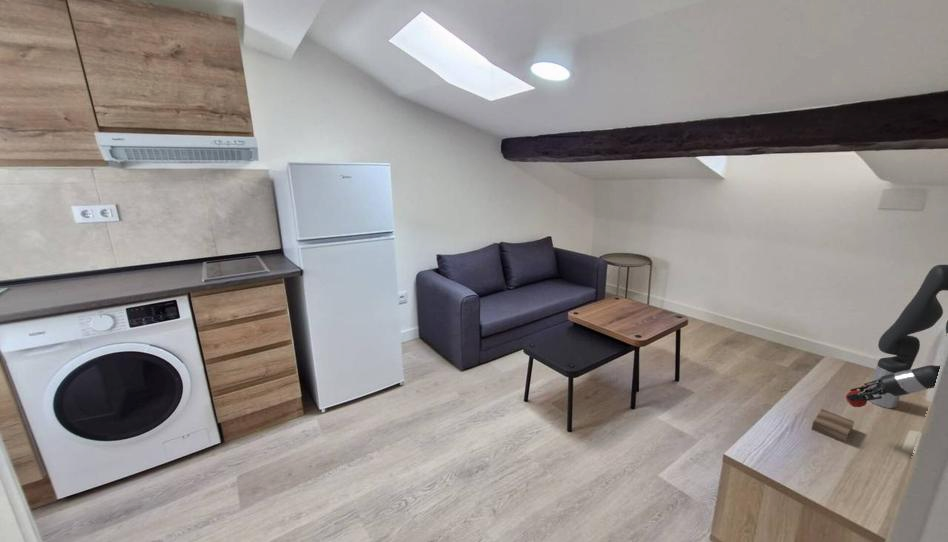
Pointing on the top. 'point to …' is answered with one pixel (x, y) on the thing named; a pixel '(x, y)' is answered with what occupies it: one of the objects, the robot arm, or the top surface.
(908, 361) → the robot arm
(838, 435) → the plinth
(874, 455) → the top surface
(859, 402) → the pomegranate
